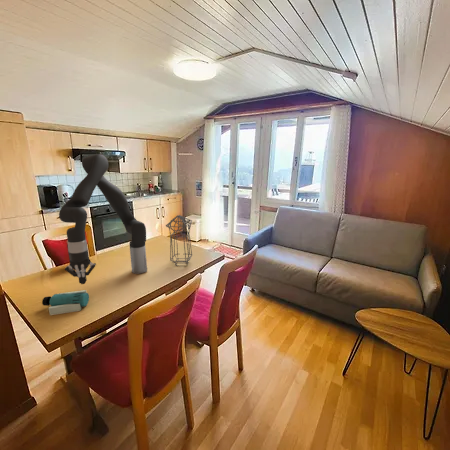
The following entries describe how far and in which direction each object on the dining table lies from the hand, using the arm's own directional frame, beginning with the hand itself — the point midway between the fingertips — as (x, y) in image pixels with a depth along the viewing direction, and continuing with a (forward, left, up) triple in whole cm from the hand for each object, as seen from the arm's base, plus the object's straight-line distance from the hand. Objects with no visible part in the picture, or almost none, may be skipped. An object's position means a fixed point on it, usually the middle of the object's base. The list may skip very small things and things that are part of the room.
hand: (83, 283), depth 110 cm
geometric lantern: (-51, -34, -11) cm, 62 cm away
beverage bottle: (-3, +3, -7) cm, 8 cm away
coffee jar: (+14, -49, -11) cm, 52 cm away
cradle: (+7, 0, -11) cm, 13 cm away
